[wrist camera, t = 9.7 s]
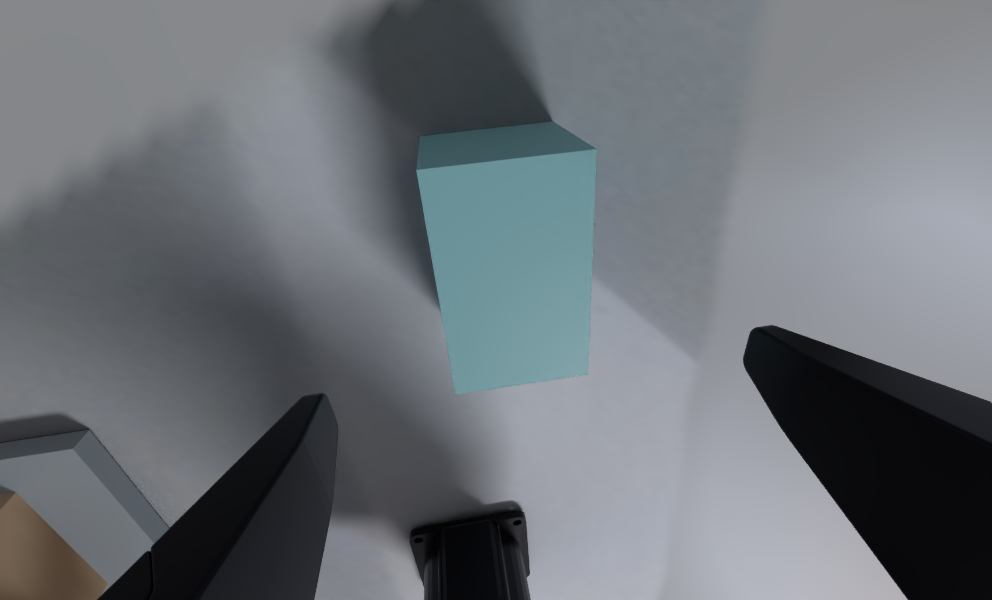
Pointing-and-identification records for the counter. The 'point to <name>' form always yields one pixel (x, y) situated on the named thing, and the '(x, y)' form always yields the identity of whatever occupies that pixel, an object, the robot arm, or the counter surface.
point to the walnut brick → (40, 559)
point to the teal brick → (511, 250)
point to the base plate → (82, 498)
